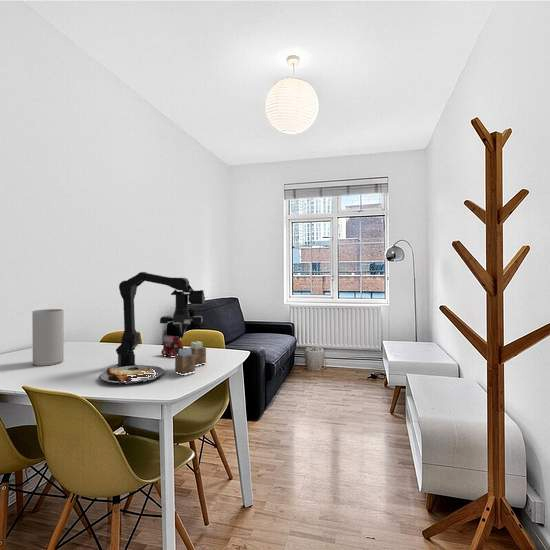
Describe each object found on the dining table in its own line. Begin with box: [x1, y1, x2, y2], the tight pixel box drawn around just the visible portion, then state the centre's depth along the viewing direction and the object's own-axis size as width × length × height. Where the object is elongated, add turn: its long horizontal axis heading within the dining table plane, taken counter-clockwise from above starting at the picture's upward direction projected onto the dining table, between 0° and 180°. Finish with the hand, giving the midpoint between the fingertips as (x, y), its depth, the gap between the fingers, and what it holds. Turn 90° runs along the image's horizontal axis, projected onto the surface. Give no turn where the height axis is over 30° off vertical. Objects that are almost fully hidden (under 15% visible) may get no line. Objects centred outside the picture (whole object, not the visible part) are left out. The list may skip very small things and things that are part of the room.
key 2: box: [179, 347, 191, 357], centre depth 155 cm, size 4×4×8 cm
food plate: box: [98, 364, 165, 384], centre depth 149 cm, size 25×23×4 cm
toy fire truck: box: [160, 335, 184, 357], centre depth 187 cm, size 7×12×10 cm, turn 65°
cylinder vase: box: [31, 308, 65, 367], centre depth 171 cm, size 12×12×25 cm
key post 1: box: [188, 346, 207, 365], centre depth 170 cm, size 6×6×8 cm
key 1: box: [190, 340, 204, 349], centre depth 169 cm, size 4×4×8 cm
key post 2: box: [174, 354, 196, 374], centre depth 155 cm, size 6×6×8 cm
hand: (181, 338), depth 167 cm, fingers closed
